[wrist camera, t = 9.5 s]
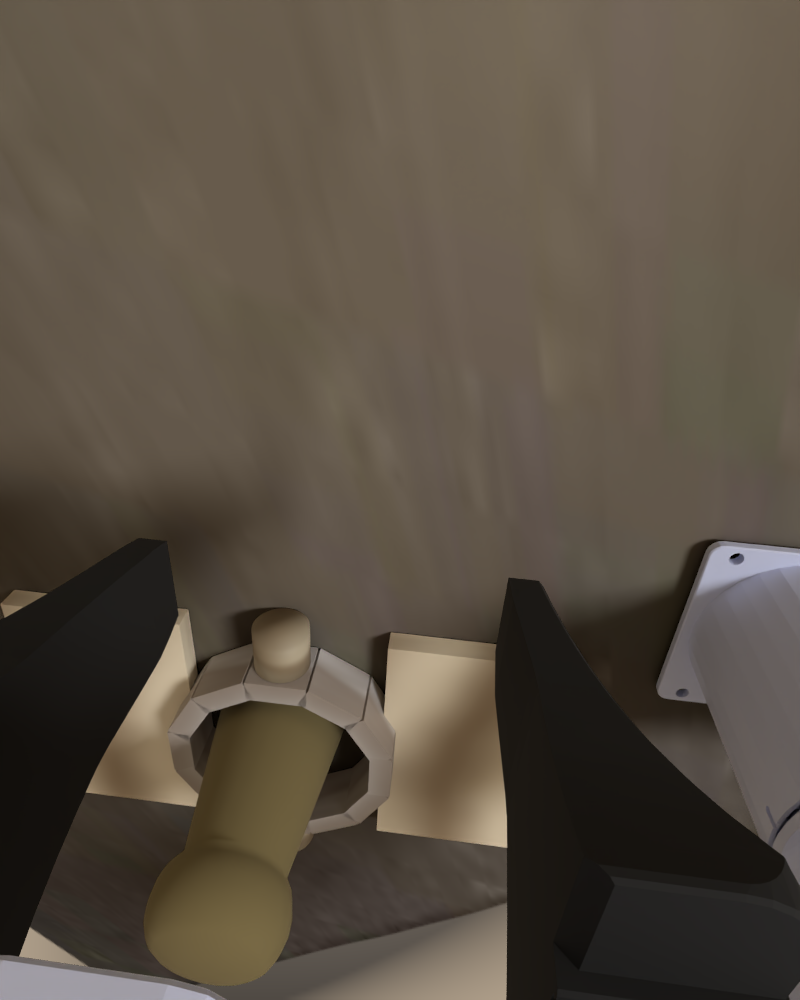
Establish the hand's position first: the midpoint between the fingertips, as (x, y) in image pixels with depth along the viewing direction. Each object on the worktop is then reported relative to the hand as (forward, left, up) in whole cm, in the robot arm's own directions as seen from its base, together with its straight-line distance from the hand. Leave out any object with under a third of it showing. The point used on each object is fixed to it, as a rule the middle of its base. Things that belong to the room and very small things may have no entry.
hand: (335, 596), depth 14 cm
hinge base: (+4, +17, -10) cm, 20 cm away
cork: (+4, +16, -11) cm, 20 cm away
